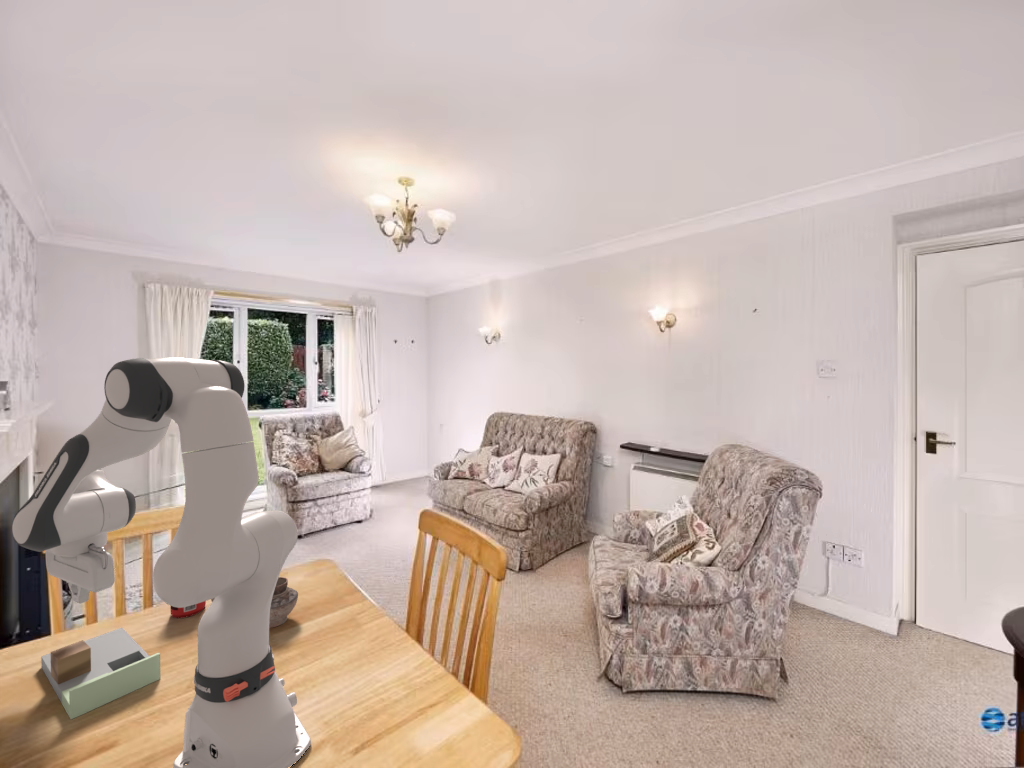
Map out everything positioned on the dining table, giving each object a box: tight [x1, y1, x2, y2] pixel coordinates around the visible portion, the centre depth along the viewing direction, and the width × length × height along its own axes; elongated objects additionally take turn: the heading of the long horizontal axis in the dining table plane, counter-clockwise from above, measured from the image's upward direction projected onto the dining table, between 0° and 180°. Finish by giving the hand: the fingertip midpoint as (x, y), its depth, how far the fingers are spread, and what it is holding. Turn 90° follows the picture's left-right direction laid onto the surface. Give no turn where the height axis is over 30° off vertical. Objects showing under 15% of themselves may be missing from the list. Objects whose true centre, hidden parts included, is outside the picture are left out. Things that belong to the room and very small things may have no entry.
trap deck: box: [40, 627, 161, 720], centre depth 98 cm, size 26×14×6 cm, turn 55°
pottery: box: [210, 576, 299, 629], centre depth 120 cm, size 11×25×12 cm, turn 75°
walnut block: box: [50, 640, 91, 684], centre depth 94 cm, size 5×5×5 cm
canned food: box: [170, 601, 207, 619], centre depth 124 cm, size 8×8×11 cm
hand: (80, 601), depth 101 cm, fingers closed
